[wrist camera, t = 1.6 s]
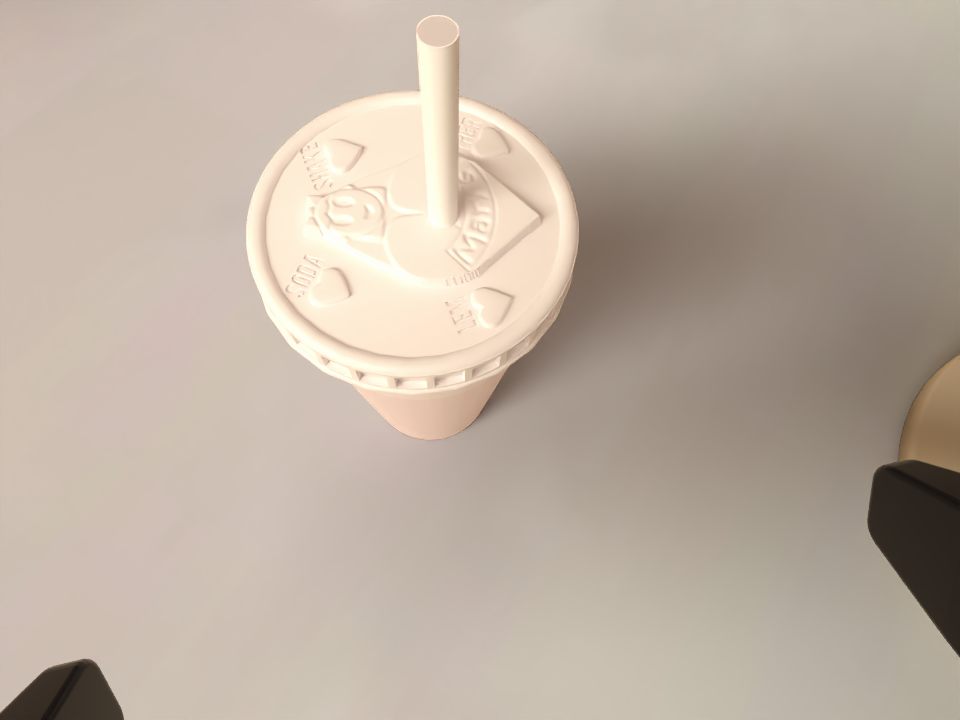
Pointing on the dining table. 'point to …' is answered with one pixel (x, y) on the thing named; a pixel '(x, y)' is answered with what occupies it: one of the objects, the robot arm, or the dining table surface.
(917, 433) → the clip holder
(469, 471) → the dining table surface
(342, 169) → the smoothie
